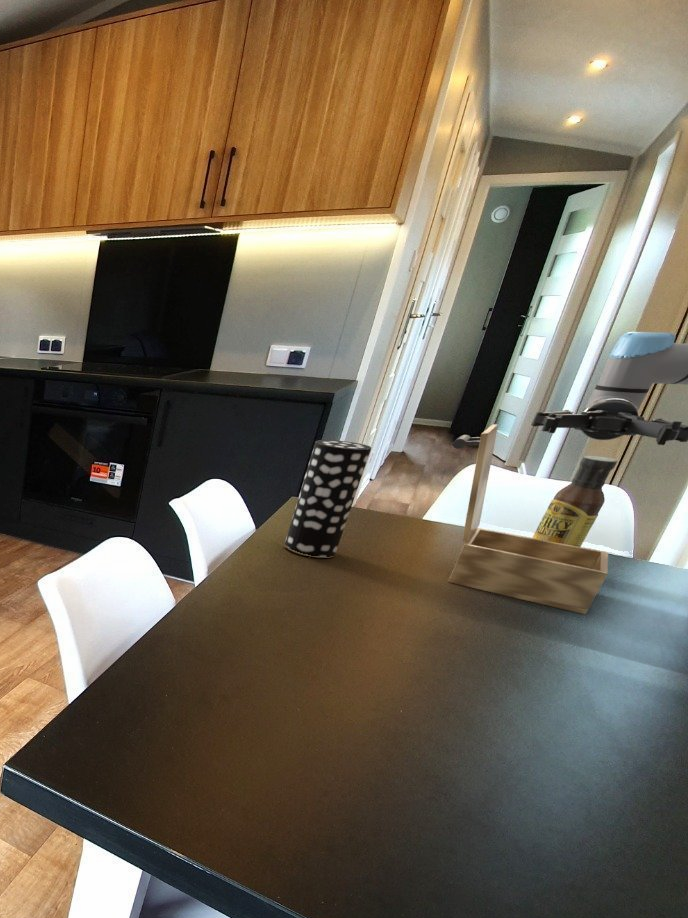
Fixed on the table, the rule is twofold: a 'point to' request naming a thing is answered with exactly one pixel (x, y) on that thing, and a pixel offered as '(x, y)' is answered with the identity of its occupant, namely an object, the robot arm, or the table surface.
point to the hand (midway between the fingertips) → (607, 430)
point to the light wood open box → (531, 569)
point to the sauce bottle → (576, 504)
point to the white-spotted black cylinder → (326, 497)
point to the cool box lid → (478, 476)
